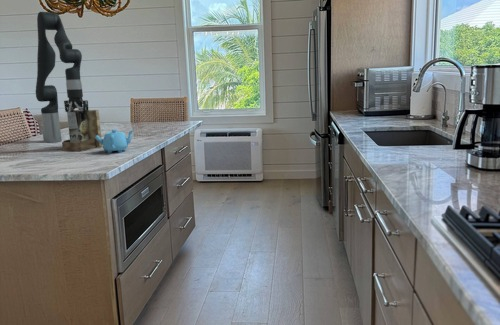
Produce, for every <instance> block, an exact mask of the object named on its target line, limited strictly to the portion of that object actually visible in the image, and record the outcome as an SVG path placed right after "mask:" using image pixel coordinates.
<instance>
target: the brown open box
mask: <svg viewBox="0 0 500 325" xmlns="http://www.w3.org/2000/svg"><path fill="white" fill-rule="evenodd" d="M61 143H62V144H61V145H62V151H67V152H69V151H70V152H83V151H88V150H92V149H95V148H98V147H97V145H96V139H95V138H93V139H89V140H84V141H80V143H78V142H70V139H66V140H62V141H61Z"/></svg>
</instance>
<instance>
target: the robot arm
mask: <svg viewBox="0 0 500 325" xmlns="http://www.w3.org/2000/svg"><path fill="white" fill-rule="evenodd" d="M36 19H37V24H36V26H37V63H36V64H37V71H36V72H37V73H36V74H37V75H36V82H35V83H36V84H35V97H36V100H37V101H38V102H41V103H42V102H44V103H45V102H48V104H47V105H45V106H44V107H42V108H41V109H40V111H41V112H40V113H41V121H42V125H41V131H42V136H43V137H42V138H43V143H58V142H59V143H60V142H63V140H62V131H61V130H62V129H61V125H60V116H59V100H58V90H57V87H56V86H54V85H53V84H49V85H48V84H47V85H46V81H47V79H48V78H49V75H50V74H51V73H52V71H53V70H54V68H56V57H57V56H56V52H55V50H54V48H53V46H52V45H51V42H50V41H49V39H48V37H47V34H46V32H47V31H56V32H55V35H54V37H53V39H54V40H53V41H54V44H55V46H56V47H57V49H58V53H59V59H60V61H61V62H62V63H64V64H73V66H72V67H68V68H67V67H66V69H65V70H64V71H65V82H66V83H65V85H66V86H65V87H66V95H67V98H68V100H63V105H64V111H65V112H66V113H67V112H72V111H74V110H76V109H77V110H80V112H81V119H82V120H85V119H86V114H85V113H86V112H88V111H89V110H90V109H89V100H84V99H83V97H84V94H83V84H82V80H81V64H82V60H83V59H82V58H83V55H82V51H80V50H79V49H76V48H73V44H72V43H71V41H70V39H69V37H68V35H67V33H66V31H65V28H64V25H63V22H62V19H61V17H60V15H59V14H58V13H57V12H52V11H39V12H38V14H37V18H36Z"/></svg>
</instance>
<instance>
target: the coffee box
mask: <svg viewBox="0 0 500 325" xmlns="http://www.w3.org/2000/svg"><path fill="white" fill-rule="evenodd" d="M85 114H86V119H85V120H82V119H81V112H80V111H72V112H66V115H67V116H66V117H67V125H68V135H69V140H70V142H78V143H80V141H84V140H89V139H90V138H89V128H88V118H87V112H86V113H85Z"/></svg>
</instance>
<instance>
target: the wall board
mask: <svg viewBox="0 0 500 325" xmlns="http://www.w3.org/2000/svg"><path fill="white" fill-rule="evenodd" d="M88 110H89V111H88V112H87V118H88V128H89V138H90V139H93V138H95V137H96V136H97V135H98V136H99V137H100V138H101V139H102V131H101V121H100V113H99V109H88ZM74 111H80V110H78V109H74ZM96 145H97V147H96V148H103V145H102V144H101V143H100V142H99V141H98V140H96Z"/></svg>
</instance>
